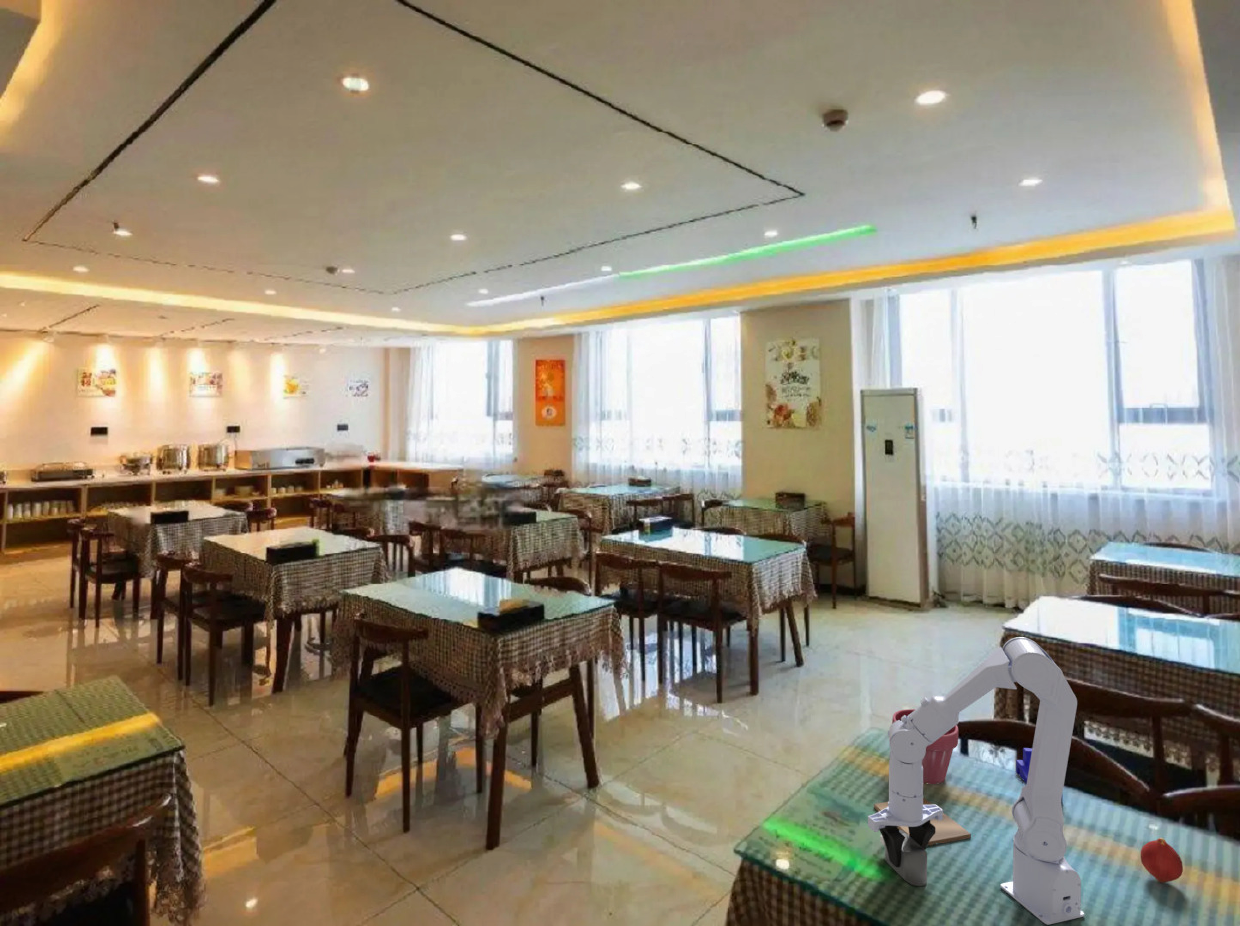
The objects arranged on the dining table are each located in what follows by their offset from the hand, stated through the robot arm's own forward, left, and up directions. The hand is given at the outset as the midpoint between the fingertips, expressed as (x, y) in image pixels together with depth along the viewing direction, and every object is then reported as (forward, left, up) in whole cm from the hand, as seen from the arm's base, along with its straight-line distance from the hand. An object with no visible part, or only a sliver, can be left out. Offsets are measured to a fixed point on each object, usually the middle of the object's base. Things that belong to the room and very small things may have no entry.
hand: (905, 861), depth 118 cm
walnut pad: (+12, -13, -2) cm, 18 cm away
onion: (-14, -42, -2) cm, 44 cm away
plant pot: (+28, -27, -2) cm, 39 cm away
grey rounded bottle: (0, 0, -1) cm, 1 cm away
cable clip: (+17, -49, -2) cm, 52 cm away
